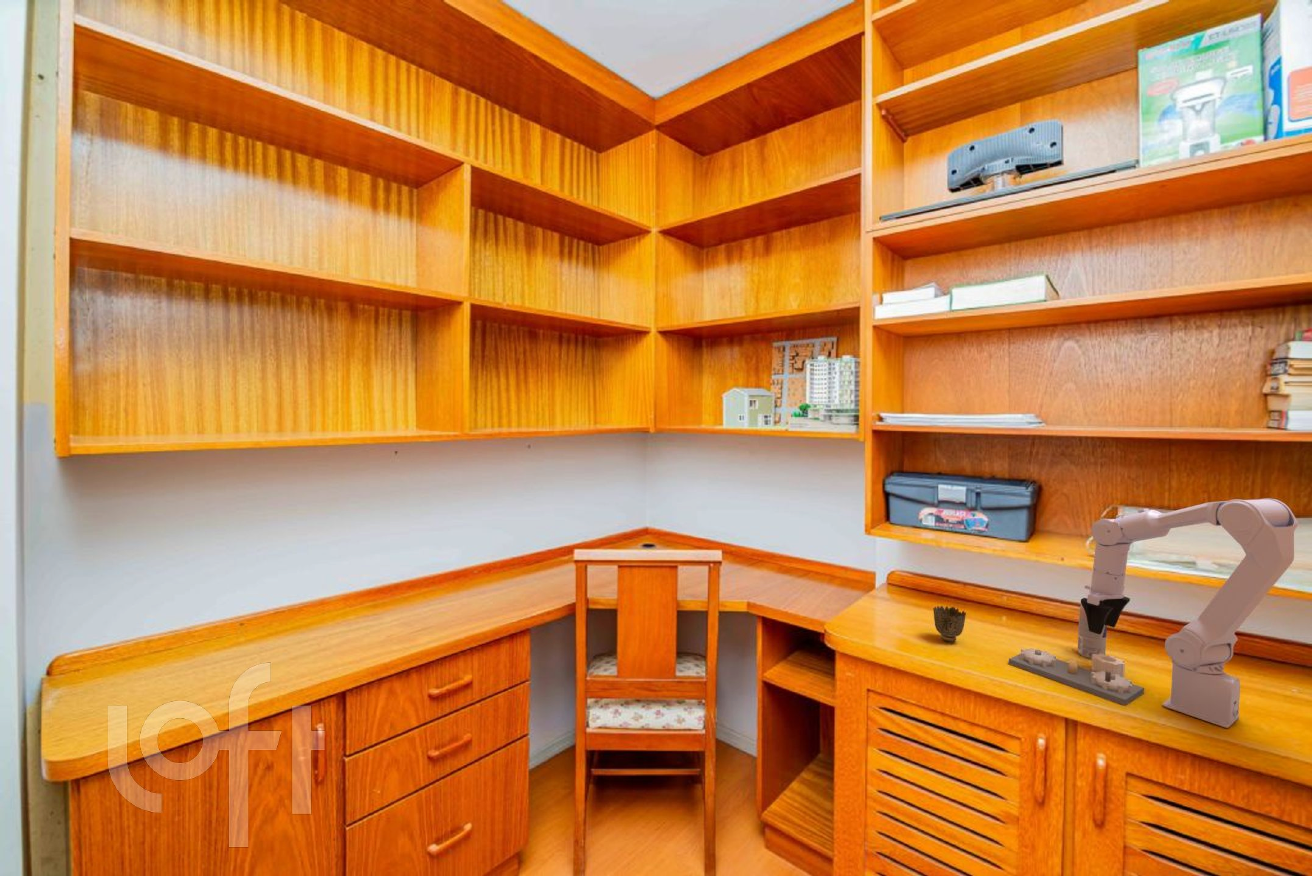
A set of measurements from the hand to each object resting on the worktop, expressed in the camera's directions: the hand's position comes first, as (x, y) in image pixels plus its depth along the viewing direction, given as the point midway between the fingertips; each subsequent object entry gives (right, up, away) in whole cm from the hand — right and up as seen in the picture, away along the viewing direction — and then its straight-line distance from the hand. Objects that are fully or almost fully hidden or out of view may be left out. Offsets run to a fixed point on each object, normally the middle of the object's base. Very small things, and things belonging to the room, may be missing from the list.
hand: (1102, 628), depth 128 cm
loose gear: (+1, -10, -1) cm, 10 cm away
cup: (-27, -9, +16) cm, 32 cm away
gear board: (-9, -10, -4) cm, 14 cm away
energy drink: (+4, -10, +9) cm, 13 cm away
